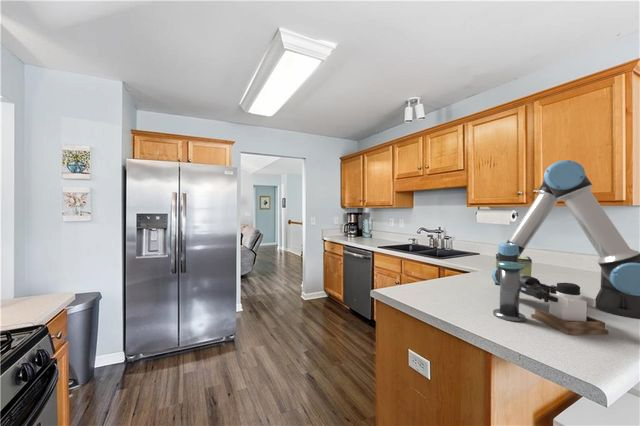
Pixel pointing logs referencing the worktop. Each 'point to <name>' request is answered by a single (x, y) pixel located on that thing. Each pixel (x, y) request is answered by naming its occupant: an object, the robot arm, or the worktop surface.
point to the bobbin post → (509, 292)
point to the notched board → (571, 324)
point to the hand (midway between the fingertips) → (581, 303)
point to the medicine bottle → (576, 304)
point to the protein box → (523, 260)
